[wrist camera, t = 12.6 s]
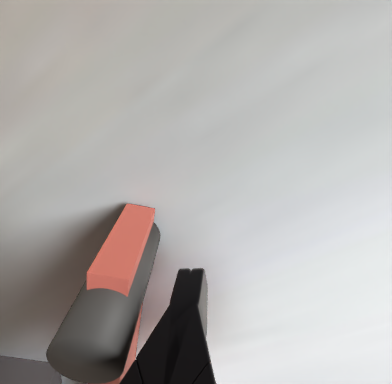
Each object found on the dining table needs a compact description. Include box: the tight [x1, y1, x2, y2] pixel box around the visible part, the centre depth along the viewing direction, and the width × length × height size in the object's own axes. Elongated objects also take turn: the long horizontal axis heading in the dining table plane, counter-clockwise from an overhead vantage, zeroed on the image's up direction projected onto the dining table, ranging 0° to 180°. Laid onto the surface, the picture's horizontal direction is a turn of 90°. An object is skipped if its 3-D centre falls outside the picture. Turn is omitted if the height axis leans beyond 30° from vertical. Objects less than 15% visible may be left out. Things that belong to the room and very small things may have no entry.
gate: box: [46, 204, 160, 384], centre depth 12 cm, size 15×2×6 cm, turn 169°
